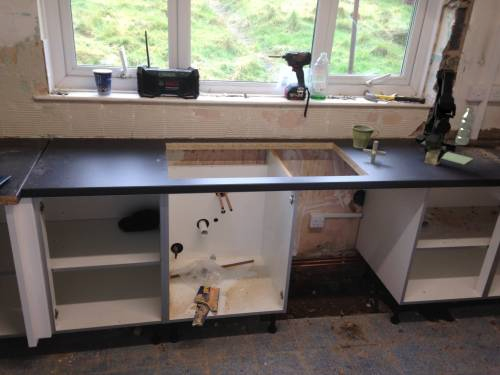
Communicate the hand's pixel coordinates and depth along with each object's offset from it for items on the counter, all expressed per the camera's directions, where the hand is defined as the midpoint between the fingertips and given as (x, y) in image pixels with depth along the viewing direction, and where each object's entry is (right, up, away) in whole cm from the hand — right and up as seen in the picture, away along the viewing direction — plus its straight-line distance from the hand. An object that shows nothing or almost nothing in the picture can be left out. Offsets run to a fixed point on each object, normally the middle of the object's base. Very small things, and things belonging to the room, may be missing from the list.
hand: (432, 160), depth 197 cm
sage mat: (+15, +2, +8) cm, 17 cm away
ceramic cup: (-28, +8, +17) cm, 34 cm away
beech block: (0, -1, 0) cm, 1 cm away
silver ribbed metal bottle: (+28, +10, +30) cm, 42 cm away
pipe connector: (-29, -1, -4) cm, 29 cm away
